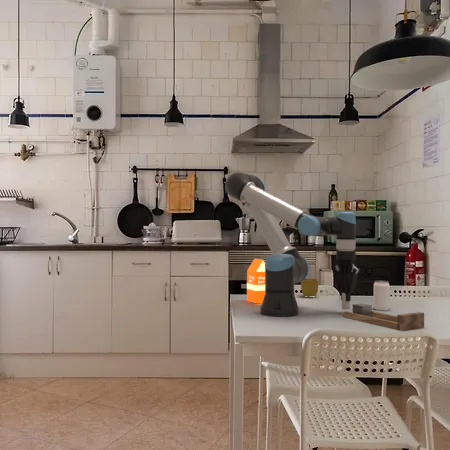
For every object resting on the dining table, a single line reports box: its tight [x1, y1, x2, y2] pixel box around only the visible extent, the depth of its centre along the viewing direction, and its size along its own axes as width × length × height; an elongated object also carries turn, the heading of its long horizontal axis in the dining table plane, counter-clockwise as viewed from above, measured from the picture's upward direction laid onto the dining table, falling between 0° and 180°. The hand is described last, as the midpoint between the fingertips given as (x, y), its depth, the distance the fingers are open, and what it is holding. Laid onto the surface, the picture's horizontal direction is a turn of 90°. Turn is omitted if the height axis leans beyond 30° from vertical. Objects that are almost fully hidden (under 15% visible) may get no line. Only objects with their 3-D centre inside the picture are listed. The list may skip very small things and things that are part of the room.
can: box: [373, 280, 391, 312], centre depth 191 cm, size 6×6×12 cm
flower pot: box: [300, 278, 320, 297], centre depth 226 cm, size 9×9×9 cm
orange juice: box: [246, 258, 266, 304], centre depth 208 cm, size 8×9×20 cm
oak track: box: [343, 310, 425, 331], centre depth 165 cm, size 11×27×5 cm, turn 30°
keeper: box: [352, 303, 373, 317], centre depth 173 cm, size 5×5×5 cm
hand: (345, 308), depth 181 cm, fingers closed
